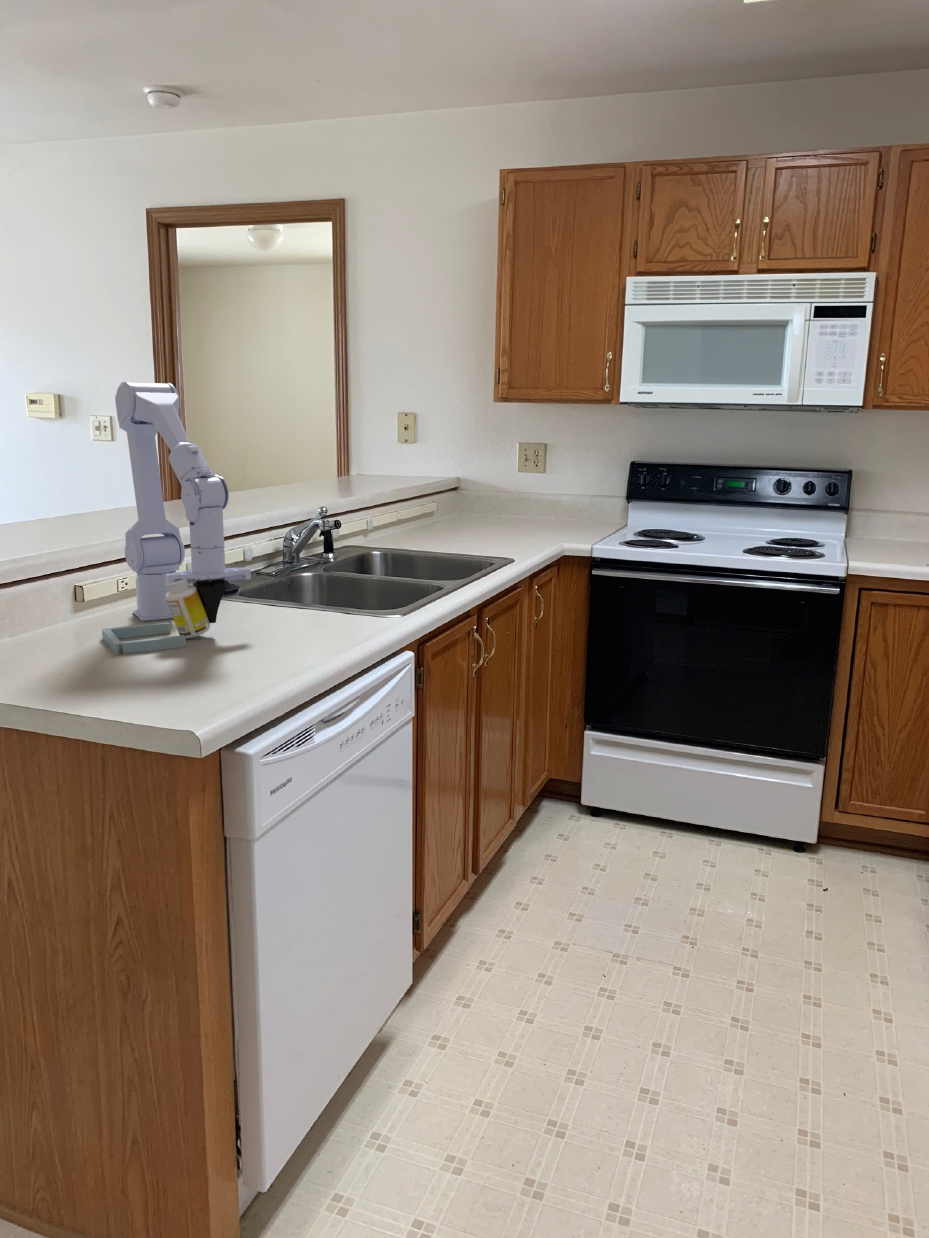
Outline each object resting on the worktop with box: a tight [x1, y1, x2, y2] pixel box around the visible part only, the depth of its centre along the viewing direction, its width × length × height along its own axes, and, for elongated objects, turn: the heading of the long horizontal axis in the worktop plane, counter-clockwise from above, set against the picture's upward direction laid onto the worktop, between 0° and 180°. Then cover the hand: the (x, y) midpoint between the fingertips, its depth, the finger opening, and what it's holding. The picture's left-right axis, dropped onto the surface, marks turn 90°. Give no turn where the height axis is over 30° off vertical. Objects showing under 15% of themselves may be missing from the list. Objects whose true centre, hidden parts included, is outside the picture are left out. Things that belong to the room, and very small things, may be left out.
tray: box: [101, 621, 187, 656], centre depth 158 cm, size 12×11×2 cm
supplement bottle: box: [165, 579, 211, 639], centre depth 160 cm, size 6×6×10 cm
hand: (211, 621), depth 163 cm, fingers closed
